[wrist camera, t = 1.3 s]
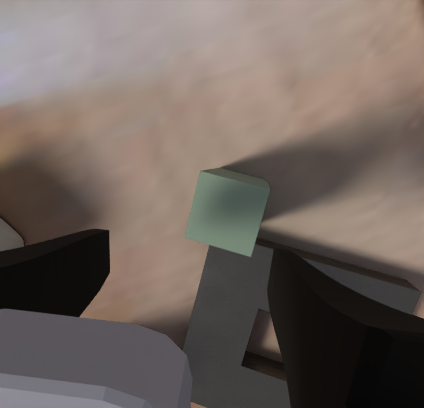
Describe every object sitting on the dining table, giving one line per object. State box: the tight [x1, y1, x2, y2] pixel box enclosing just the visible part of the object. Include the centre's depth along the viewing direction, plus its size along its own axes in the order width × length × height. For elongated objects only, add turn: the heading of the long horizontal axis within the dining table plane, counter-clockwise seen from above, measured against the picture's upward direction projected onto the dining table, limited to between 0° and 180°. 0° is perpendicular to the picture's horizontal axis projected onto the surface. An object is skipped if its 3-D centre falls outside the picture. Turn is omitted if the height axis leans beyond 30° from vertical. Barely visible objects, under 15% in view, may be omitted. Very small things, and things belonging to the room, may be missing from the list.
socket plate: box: [183, 238, 421, 408], centre depth 23 cm, size 16×16×2 cm
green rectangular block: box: [184, 168, 271, 257], centre depth 19 cm, size 4×4×8 cm
